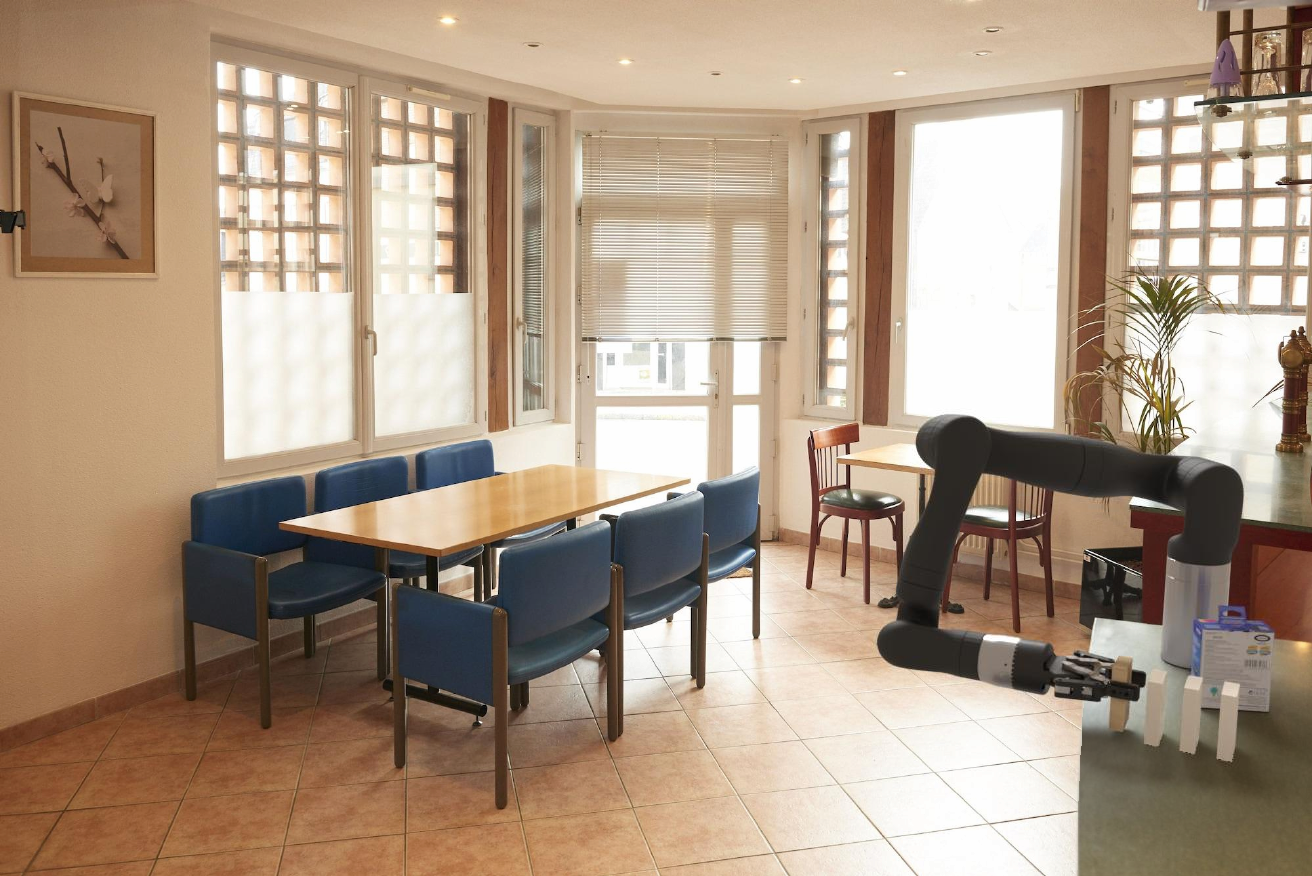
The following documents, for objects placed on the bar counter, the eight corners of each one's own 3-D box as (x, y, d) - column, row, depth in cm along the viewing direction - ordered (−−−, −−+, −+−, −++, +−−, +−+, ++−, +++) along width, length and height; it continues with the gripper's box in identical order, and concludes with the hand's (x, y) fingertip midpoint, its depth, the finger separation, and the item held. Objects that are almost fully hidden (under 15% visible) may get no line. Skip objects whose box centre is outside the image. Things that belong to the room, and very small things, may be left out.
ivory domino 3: (1219, 744, 145) (1224, 681, 143) (1235, 747, 144) (1239, 684, 142) (1216, 759, 141) (1221, 694, 139) (1232, 762, 140) (1237, 697, 138)
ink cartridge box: (1258, 698, 160) (1265, 605, 157) (1271, 713, 154) (1279, 617, 152) (1186, 694, 162) (1193, 601, 159) (1197, 709, 156) (1204, 613, 154)
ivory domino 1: (1149, 730, 149) (1153, 669, 148) (1163, 733, 149) (1167, 671, 147) (1143, 744, 145) (1147, 681, 144) (1158, 747, 144) (1162, 683, 143)
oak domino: (1115, 716, 152) (1118, 655, 150) (1128, 718, 151) (1132, 658, 149) (1108, 729, 147) (1112, 667, 146) (1122, 732, 146) (1126, 669, 145)
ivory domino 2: (1184, 737, 147) (1188, 675, 146) (1198, 740, 146) (1203, 677, 145) (1179, 751, 143) (1183, 687, 141) (1194, 754, 142) (1199, 690, 141)
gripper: (1003, 654, 149) (1136, 678, 140) (1028, 624, 161) (1152, 644, 152) (1001, 705, 150) (1132, 732, 141) (1026, 671, 162) (1148, 694, 153)
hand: (1142, 686), depth 147 cm, fingers closed on oak domino, 5 cm apart
